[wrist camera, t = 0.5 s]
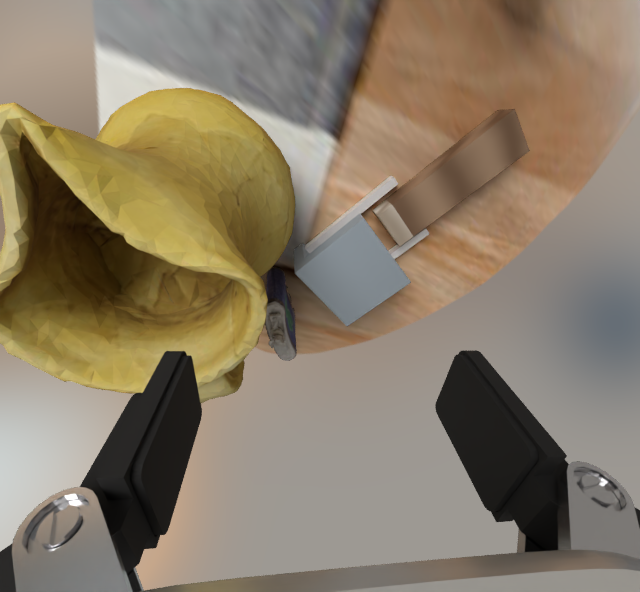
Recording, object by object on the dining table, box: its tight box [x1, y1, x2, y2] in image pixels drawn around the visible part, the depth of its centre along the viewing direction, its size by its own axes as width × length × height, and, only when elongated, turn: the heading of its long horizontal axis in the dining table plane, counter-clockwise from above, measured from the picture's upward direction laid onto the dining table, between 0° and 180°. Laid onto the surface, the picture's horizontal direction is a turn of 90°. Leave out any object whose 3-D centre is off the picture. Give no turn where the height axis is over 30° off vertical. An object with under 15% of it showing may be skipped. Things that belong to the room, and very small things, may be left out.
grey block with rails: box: [294, 176, 429, 326], centre depth 36 cm, size 15×10×7 cm, turn 129°
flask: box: [265, 267, 297, 361], centre depth 38 cm, size 9×3×11 cm, turn 9°
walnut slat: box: [373, 109, 530, 246], centre depth 35 cm, size 17×5×3 cm, turn 129°
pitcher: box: [0, 88, 295, 403], centre depth 24 cm, size 17×19×25 cm
